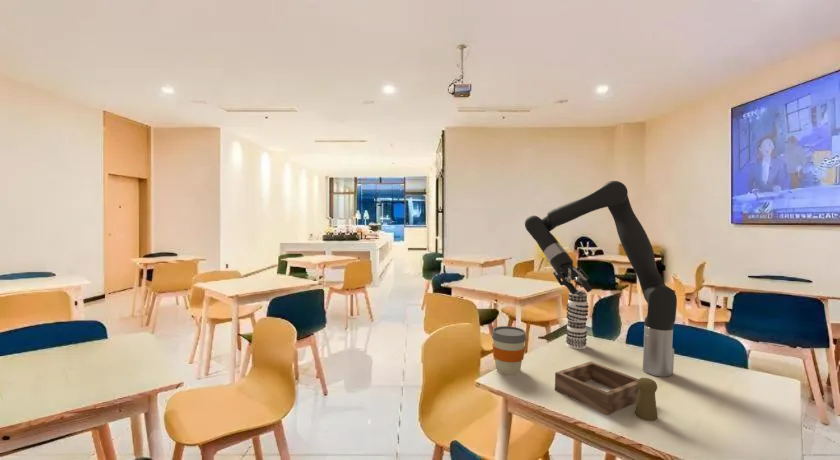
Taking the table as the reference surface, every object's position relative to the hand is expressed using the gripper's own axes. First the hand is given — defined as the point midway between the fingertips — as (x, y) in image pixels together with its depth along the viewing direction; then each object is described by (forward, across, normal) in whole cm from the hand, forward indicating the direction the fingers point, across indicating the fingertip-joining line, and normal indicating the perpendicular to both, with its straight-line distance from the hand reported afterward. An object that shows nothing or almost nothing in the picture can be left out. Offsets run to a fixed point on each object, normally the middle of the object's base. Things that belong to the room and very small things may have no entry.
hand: (582, 292), depth 147 cm
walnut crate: (+31, -9, +12) cm, 35 cm away
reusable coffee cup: (+10, -20, +33) cm, 40 cm away
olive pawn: (+42, -9, +1) cm, 43 cm away
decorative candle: (+7, +25, +36) cm, 45 cm away
